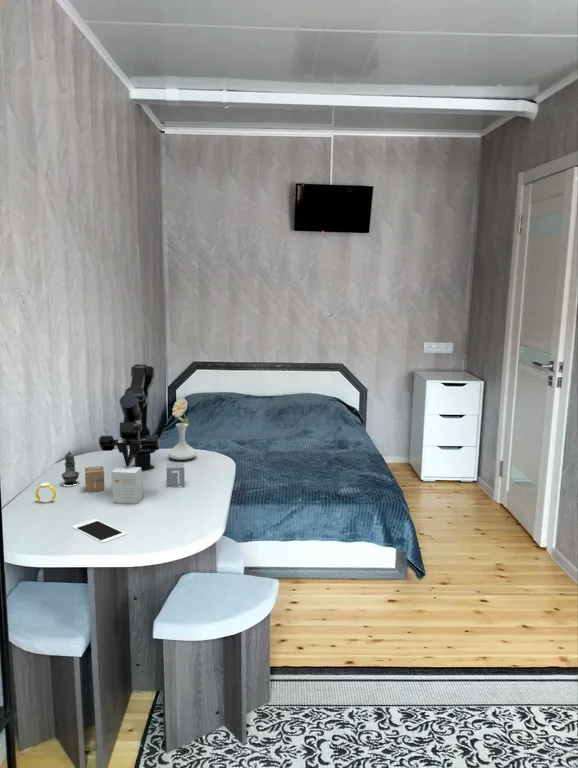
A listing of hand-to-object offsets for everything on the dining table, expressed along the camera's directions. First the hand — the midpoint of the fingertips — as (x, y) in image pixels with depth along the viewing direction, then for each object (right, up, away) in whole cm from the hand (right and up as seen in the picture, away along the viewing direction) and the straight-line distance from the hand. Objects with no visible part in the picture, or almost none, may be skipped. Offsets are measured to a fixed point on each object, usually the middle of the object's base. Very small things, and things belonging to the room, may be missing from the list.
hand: (127, 466), depth 193 cm
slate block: (+12, -9, +17) cm, 23 cm away
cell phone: (-2, -16, -22) cm, 27 cm away
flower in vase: (+9, -4, +47) cm, 48 cm away
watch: (-26, -11, -1) cm, 28 cm away
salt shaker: (-24, -9, +16) cm, 30 cm away
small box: (0, -11, +1) cm, 12 cm away
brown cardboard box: (-14, -9, +11) cm, 20 cm away
